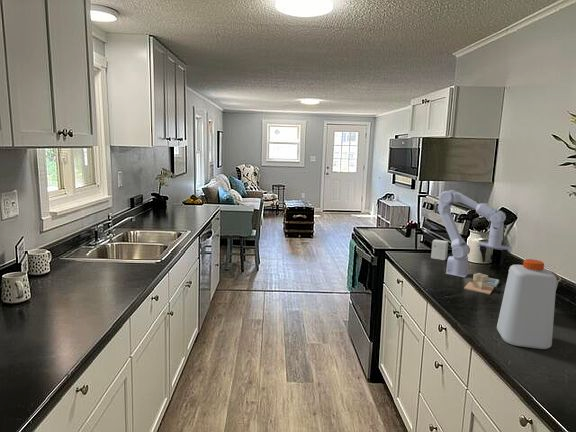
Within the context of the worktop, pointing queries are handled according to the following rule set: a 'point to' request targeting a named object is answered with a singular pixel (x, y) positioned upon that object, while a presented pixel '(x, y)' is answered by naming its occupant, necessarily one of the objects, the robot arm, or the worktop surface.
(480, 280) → the birch block
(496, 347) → the worktop surface
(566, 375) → the worktop surface
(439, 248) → the small box
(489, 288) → the mat
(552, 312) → the plastic bottle
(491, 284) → the holder
